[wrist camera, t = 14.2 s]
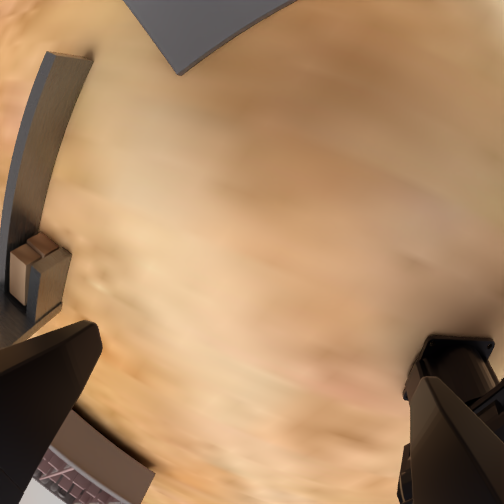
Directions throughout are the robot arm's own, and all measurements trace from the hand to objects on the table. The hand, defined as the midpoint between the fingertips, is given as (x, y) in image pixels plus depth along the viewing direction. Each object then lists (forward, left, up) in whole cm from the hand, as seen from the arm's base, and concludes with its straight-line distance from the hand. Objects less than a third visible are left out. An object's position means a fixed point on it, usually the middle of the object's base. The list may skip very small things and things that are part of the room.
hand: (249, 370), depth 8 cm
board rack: (+18, 0, -13) cm, 23 cm away
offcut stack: (+22, +6, -13) cm, 26 cm away
